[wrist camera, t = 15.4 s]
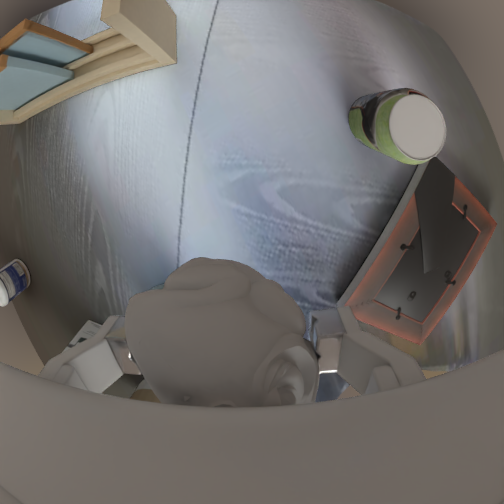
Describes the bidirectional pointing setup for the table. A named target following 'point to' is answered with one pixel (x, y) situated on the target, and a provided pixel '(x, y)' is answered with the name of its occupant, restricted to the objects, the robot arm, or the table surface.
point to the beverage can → (399, 125)
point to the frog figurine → (222, 339)
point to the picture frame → (421, 256)
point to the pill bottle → (13, 280)
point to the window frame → (92, 59)
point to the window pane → (43, 45)
